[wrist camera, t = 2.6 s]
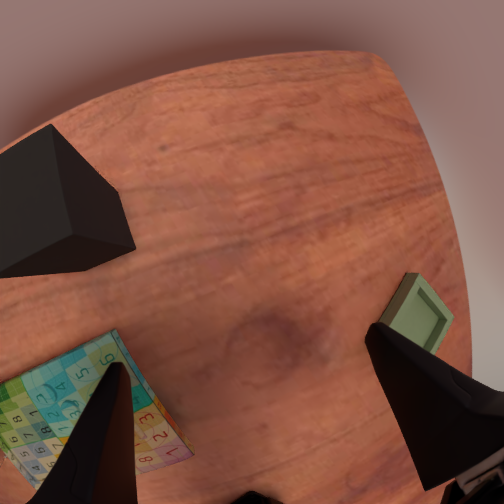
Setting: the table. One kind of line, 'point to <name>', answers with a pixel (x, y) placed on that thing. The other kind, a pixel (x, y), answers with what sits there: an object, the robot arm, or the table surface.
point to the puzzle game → (80, 410)
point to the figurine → (2, 456)
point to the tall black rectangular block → (56, 210)
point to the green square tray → (418, 313)
